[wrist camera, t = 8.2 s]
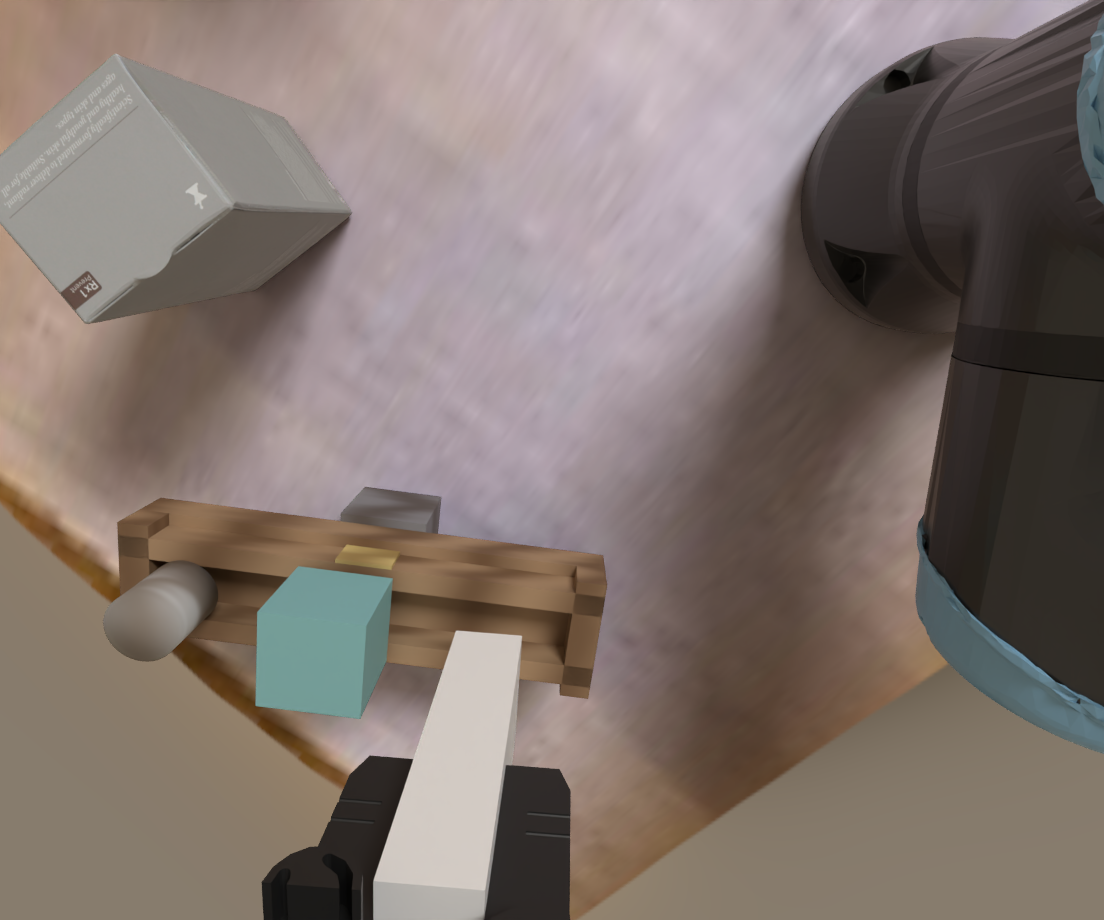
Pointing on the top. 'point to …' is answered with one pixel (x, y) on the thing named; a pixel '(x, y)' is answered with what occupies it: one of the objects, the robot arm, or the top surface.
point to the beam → (362, 548)
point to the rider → (323, 642)
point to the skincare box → (160, 193)
